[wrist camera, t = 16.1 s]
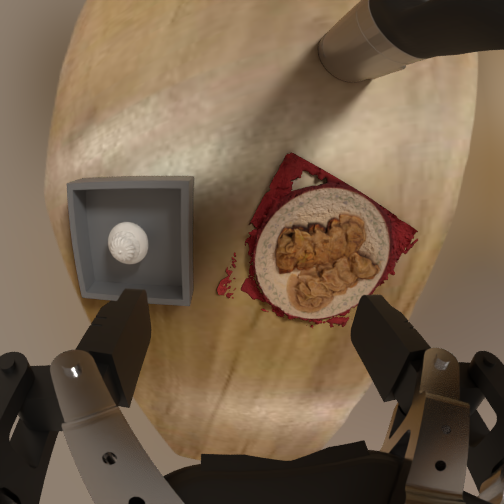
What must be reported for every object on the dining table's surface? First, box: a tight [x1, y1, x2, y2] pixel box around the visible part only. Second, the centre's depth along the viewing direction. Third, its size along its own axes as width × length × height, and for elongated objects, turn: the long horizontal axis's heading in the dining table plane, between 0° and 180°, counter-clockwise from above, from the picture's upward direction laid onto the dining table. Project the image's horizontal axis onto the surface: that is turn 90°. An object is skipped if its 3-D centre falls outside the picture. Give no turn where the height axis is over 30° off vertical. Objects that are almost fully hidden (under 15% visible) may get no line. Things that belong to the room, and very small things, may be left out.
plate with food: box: [217, 153, 418, 328], centre depth 44 cm, size 25×26×4 cm
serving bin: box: [67, 176, 194, 306], centre depth 39 cm, size 18×18×5 cm
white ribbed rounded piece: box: [108, 222, 148, 264], centre depth 37 cm, size 6×6×7 cm
